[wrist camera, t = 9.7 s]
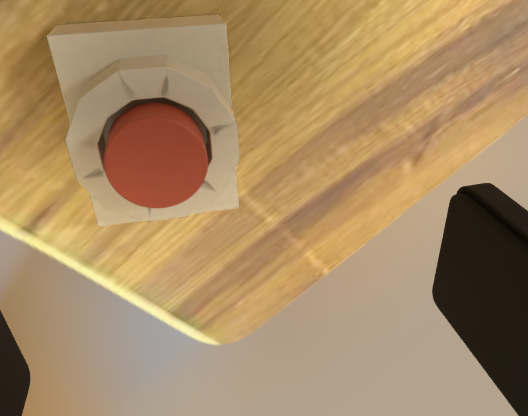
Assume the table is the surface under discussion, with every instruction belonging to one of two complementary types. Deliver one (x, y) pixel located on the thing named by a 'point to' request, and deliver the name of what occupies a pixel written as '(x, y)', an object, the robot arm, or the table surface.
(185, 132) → the red push button
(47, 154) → the table surface
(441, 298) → the robot arm
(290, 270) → the table surface
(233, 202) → the button base
